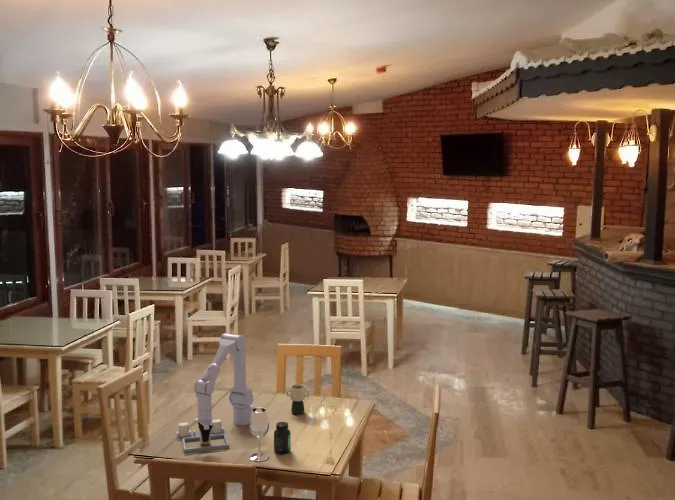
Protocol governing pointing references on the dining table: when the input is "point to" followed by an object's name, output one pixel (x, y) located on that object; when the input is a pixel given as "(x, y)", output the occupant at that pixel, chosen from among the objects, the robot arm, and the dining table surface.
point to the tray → (205, 446)
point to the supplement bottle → (282, 439)
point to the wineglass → (259, 430)
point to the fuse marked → (202, 440)
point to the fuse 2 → (216, 426)
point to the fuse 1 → (183, 429)
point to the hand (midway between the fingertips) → (205, 439)
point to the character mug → (297, 397)
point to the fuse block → (197, 433)
